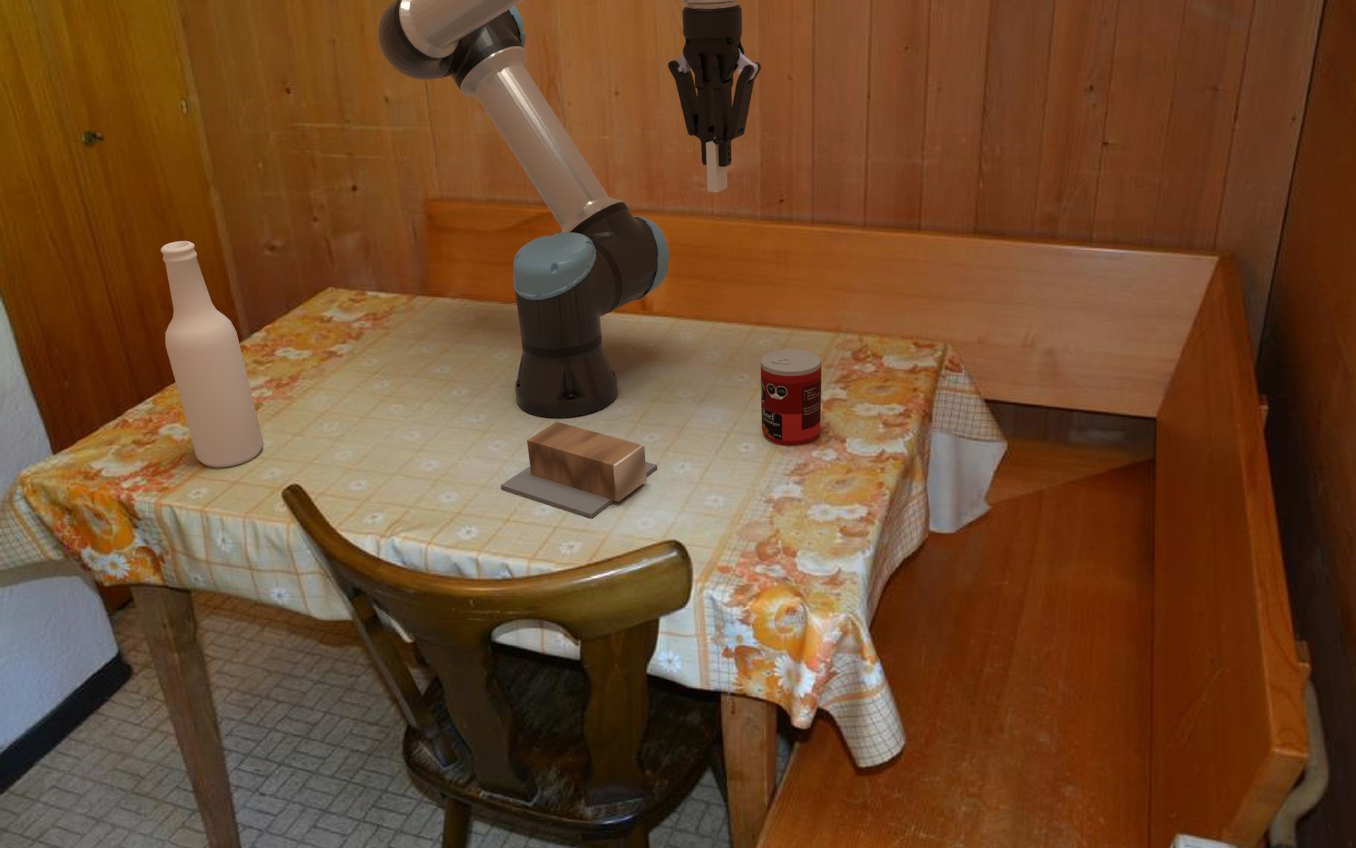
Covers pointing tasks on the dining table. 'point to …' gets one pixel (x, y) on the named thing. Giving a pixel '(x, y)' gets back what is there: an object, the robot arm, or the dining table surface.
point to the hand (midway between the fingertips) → (717, 189)
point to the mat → (560, 493)
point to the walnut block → (587, 460)
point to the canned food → (791, 396)
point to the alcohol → (208, 367)
